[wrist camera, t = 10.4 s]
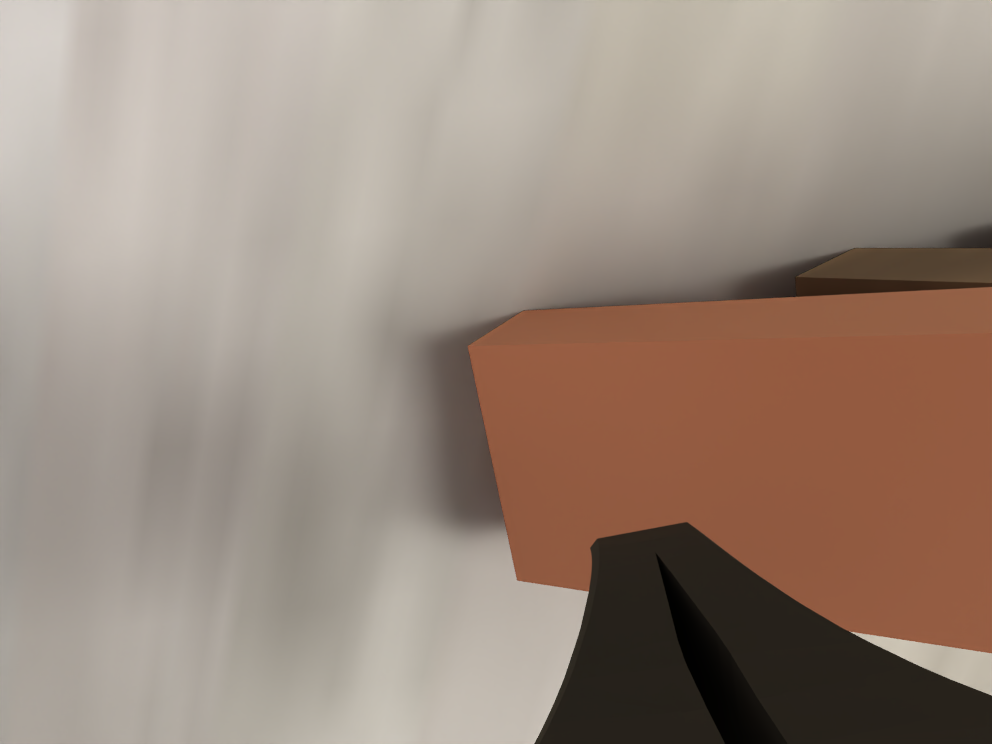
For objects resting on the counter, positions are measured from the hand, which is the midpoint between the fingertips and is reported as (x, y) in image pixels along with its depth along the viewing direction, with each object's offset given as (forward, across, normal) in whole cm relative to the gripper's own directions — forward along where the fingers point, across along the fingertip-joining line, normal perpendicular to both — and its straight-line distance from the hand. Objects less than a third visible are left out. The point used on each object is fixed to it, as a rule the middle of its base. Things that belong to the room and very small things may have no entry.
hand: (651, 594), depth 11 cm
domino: (+6, +2, 0) cm, 6 cm away
